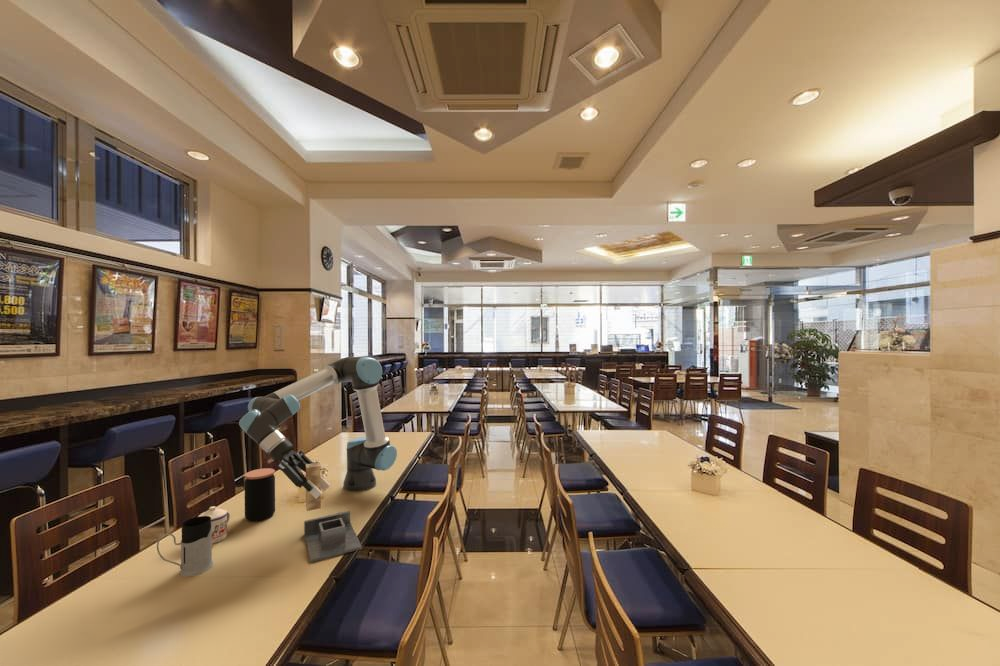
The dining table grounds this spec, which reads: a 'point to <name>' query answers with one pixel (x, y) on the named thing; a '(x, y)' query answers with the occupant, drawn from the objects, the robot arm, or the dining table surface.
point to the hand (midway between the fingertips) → (323, 491)
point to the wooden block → (315, 478)
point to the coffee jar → (259, 494)
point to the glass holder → (194, 546)
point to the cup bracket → (330, 536)
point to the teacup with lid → (218, 523)
